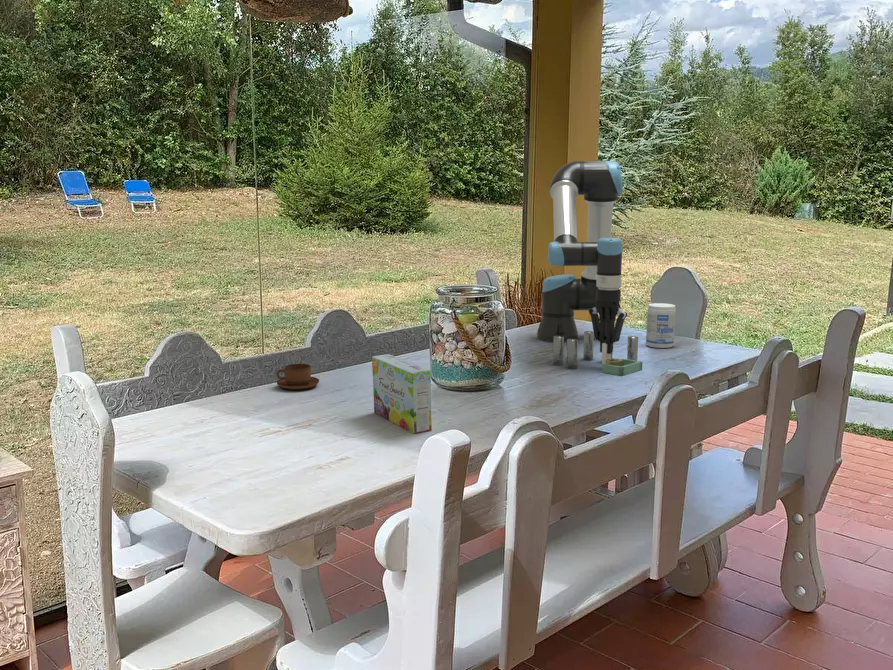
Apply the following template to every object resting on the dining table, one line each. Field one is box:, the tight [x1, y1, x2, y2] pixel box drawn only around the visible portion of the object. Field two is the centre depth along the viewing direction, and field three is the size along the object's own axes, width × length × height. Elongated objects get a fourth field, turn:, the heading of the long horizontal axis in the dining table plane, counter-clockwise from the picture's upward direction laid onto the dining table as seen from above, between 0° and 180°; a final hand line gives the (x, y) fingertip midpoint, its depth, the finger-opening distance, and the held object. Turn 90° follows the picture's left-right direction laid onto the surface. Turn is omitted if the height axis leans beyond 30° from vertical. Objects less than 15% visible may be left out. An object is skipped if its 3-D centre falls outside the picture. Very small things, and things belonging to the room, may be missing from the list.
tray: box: [601, 358, 643, 377], centre depth 261 cm, size 7×11×2 cm, turn 136°
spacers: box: [552, 330, 639, 370], centre depth 269 cm, size 21×20×9 cm
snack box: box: [371, 353, 433, 435], centre depth 208 cm, size 21×6×15 cm, turn 32°
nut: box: [606, 357, 623, 366], centre depth 263 cm, size 5×4×3 cm
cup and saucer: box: [275, 363, 320, 391], centre depth 243 cm, size 12×12×6 cm
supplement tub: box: [645, 302, 677, 349], centre depth 298 cm, size 10×10×15 cm
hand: (606, 363), depth 265 cm, fingers closed
